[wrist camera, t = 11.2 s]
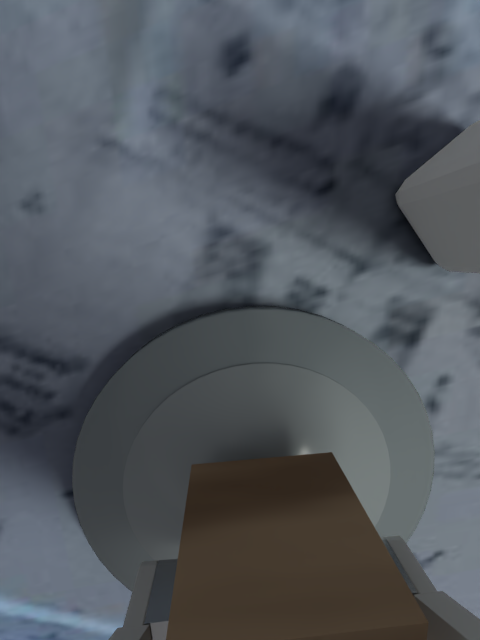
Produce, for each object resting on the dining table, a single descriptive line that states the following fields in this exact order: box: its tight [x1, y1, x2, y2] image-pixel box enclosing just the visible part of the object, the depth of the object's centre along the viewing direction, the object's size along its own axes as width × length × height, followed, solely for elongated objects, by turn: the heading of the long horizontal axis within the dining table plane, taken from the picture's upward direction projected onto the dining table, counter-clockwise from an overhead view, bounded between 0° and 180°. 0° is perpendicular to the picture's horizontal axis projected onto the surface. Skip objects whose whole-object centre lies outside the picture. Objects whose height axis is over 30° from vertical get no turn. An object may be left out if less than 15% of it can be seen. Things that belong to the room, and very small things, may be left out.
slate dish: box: [72, 306, 434, 591], centre depth 13 cm, size 15×15×1 cm
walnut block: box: [166, 452, 429, 640], centre depth 8 cm, size 5×5×5 cm
